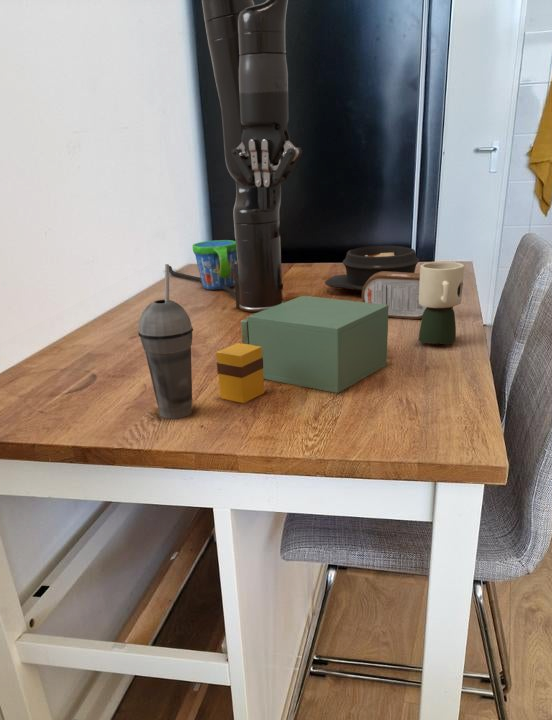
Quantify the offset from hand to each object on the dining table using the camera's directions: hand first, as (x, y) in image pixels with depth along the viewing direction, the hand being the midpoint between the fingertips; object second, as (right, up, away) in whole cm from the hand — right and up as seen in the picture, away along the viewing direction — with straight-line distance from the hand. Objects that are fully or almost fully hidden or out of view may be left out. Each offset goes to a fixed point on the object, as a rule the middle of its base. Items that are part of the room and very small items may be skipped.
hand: (267, 211), depth 117 cm
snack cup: (-12, +4, +54) cm, 56 cm away
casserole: (+25, 0, +43) cm, 50 cm away
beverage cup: (-13, -36, -18) cm, 42 cm away
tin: (+26, -12, +22) cm, 36 cm away
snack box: (-4, -33, -13) cm, 36 cm away
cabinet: (+8, -27, -5) cm, 29 cm away
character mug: (+29, -21, +5) cm, 36 cm away
